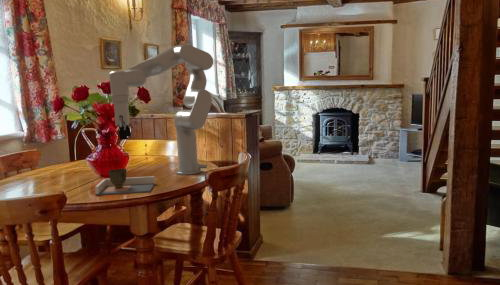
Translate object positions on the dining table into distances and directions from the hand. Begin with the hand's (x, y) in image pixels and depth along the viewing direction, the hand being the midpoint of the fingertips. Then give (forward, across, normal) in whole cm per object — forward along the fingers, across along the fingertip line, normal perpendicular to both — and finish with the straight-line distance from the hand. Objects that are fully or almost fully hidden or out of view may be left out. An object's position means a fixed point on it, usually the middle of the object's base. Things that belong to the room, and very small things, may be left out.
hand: (125, 137), depth 192 cm
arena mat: (+21, +10, 0) cm, 23 cm away
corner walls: (+21, +10, 0) cm, 23 cm away
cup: (+20, +9, -4) cm, 23 cm away
